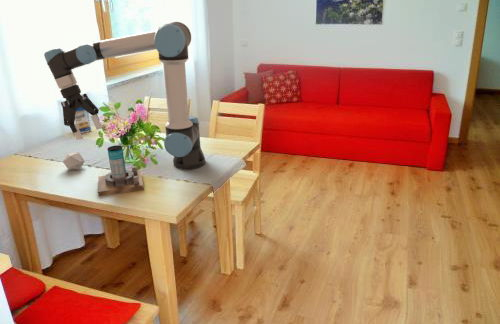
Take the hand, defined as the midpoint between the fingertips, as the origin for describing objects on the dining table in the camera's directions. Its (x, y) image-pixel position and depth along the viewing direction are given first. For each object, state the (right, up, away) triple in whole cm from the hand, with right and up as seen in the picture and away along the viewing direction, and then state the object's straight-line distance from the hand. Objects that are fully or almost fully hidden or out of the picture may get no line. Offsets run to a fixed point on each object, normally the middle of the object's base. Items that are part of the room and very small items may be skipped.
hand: (90, 133), depth 178 cm
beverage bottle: (-31, +6, +70) cm, 77 cm away
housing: (+13, -22, 0) cm, 26 cm away
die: (-14, -16, +17) cm, 27 cm away
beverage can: (+13, -20, -1) cm, 24 cm away
